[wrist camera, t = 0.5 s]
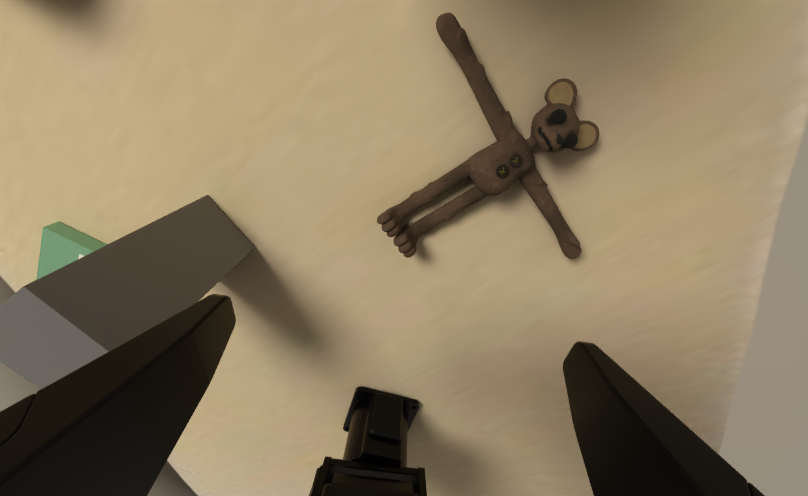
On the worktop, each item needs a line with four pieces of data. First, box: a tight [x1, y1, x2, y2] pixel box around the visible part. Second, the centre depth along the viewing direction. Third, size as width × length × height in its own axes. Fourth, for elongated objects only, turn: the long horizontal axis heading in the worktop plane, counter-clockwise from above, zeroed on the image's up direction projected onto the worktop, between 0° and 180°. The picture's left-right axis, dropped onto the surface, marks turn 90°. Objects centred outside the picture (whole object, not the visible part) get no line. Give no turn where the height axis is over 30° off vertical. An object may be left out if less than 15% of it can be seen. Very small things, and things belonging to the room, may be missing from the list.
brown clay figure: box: [377, 13, 599, 259], centre depth 21 cm, size 18×4×14 cm
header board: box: [37, 222, 107, 280], centre depth 27 cm, size 10×9×3 cm
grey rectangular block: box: [0, 195, 255, 389], centre depth 20 cm, size 5×5×12 cm
